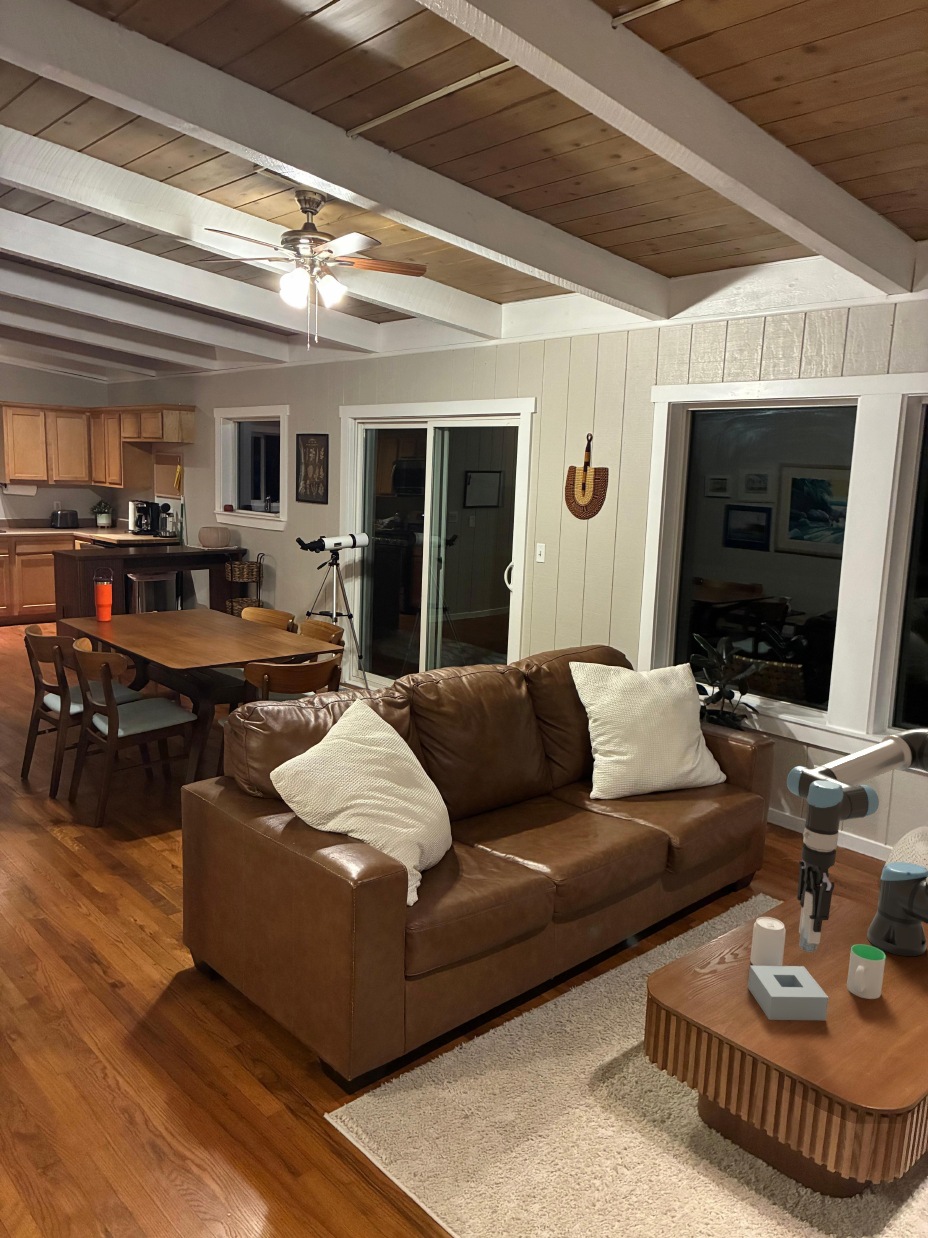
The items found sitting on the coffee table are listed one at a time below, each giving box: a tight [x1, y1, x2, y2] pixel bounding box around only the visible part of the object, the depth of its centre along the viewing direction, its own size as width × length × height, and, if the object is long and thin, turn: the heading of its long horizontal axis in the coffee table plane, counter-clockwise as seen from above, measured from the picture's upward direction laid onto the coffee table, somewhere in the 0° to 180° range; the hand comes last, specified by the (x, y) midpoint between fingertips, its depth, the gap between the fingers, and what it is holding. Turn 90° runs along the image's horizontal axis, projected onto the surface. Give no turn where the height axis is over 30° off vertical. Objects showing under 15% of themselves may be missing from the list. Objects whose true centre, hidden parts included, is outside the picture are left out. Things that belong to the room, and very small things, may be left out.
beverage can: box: [749, 916, 787, 966], centre depth 242 cm, size 8×8×12 cm
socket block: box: [747, 965, 829, 1021], centre depth 224 cm, size 14×14×6 cm
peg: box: [798, 890, 818, 953], centre depth 219 cm, size 4×4×14 cm
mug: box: [846, 943, 887, 1000], centre depth 230 cm, size 12×8×10 cm, turn 145°
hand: (809, 937), depth 220 cm, fingers closed on peg, 4 cm apart
